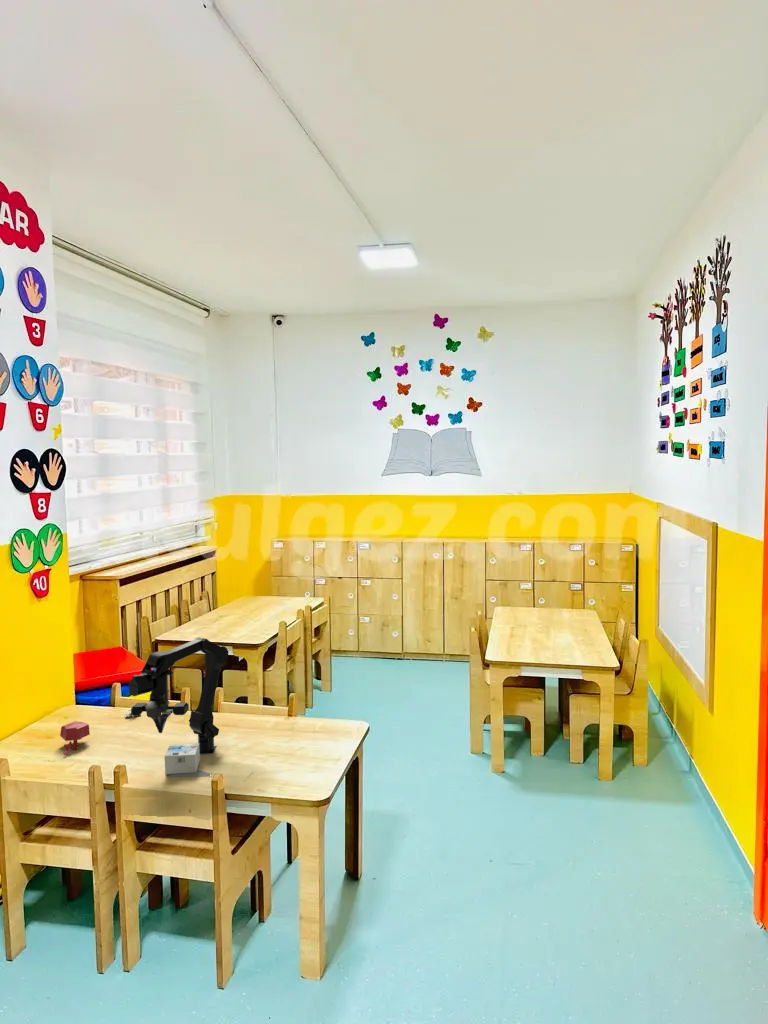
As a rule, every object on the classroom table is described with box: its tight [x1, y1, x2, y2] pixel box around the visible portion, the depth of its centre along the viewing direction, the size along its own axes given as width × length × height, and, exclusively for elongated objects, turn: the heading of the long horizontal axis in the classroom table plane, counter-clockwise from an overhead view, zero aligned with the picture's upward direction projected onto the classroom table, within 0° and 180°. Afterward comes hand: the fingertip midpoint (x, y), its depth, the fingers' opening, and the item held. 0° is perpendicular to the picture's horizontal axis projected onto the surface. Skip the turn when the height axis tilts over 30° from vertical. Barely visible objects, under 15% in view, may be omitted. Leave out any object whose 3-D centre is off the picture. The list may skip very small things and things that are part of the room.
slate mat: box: [169, 769, 213, 778], centre depth 258 cm, size 11×20×1 cm, turn 89°
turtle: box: [59, 720, 91, 755], centre depth 278 cm, size 15×20×9 cm
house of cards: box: [123, 701, 142, 719], centre depth 314 cm, size 9×9×8 cm
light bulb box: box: [164, 742, 201, 775], centre depth 260 cm, size 11×7×11 cm
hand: (160, 732), depth 259 cm, fingers closed
